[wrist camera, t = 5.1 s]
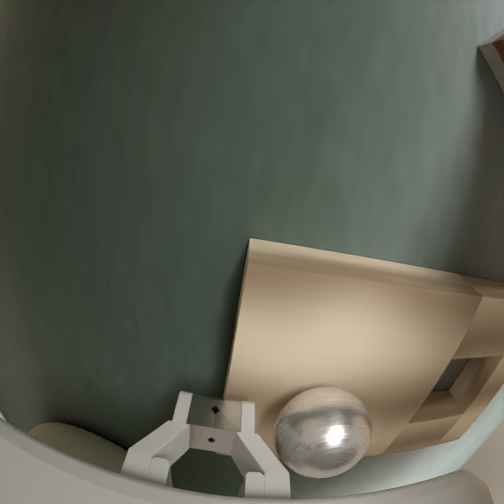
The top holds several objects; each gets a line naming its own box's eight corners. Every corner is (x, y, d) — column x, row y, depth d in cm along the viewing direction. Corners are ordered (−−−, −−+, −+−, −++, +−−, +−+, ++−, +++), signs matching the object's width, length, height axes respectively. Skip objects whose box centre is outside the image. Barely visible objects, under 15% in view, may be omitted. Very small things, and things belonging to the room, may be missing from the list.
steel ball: (283, 363, 11) (290, 447, 7) (372, 368, 11) (402, 441, 7) (263, 421, 12) (264, 492, 9) (341, 423, 13) (356, 488, 9)
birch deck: (249, 238, 12) (247, 263, 10) (524, 286, 13) (547, 304, 10) (219, 421, 16) (215, 453, 14) (447, 417, 17) (458, 438, 15)
